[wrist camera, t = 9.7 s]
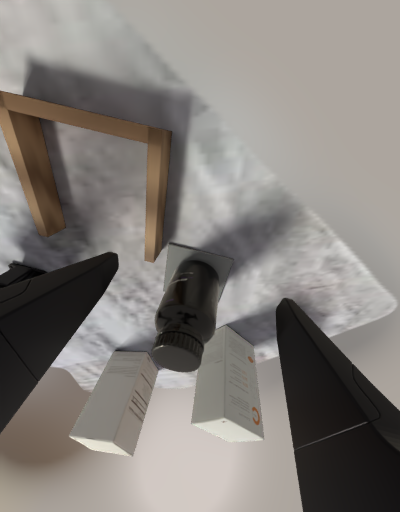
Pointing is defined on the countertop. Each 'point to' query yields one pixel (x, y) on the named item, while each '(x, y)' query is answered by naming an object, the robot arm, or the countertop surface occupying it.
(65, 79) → the countertop surface
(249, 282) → the countertop surface
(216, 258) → the slate mat
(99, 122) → the frame
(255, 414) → the small box
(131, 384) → the supplement box
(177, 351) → the supplement bottle
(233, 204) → the countertop surface
